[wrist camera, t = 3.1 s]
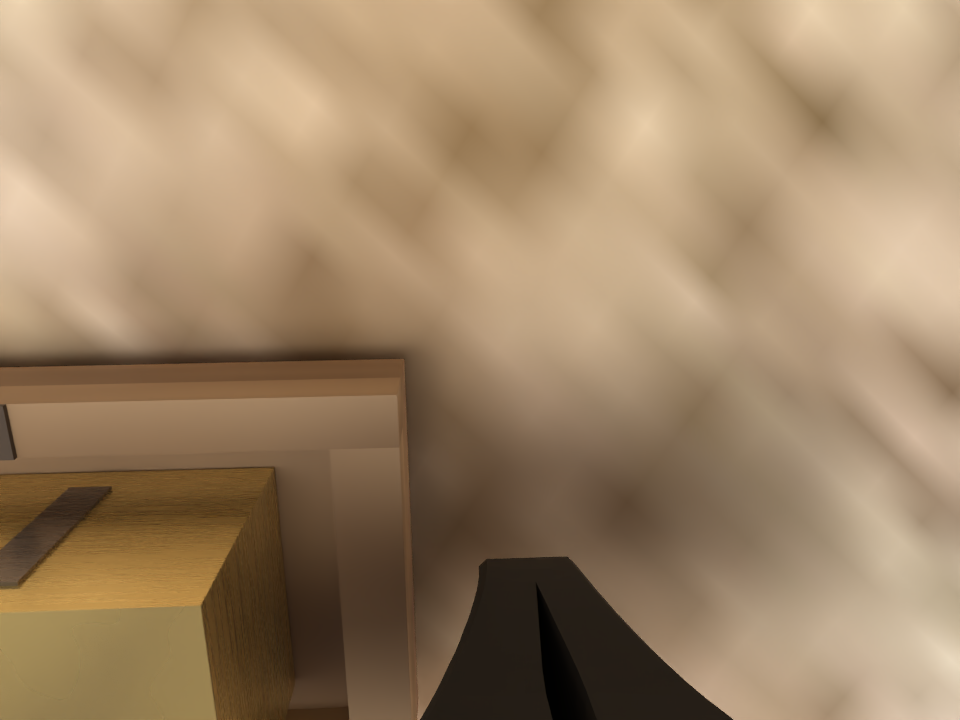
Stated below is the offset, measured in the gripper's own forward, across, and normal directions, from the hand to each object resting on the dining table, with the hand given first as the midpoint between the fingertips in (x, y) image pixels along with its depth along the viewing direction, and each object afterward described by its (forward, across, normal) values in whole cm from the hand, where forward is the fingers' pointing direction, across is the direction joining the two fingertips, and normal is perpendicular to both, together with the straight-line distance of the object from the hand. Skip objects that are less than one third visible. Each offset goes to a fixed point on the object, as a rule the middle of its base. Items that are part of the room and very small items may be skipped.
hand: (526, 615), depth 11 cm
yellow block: (+1, +6, 0) cm, 6 cm away
